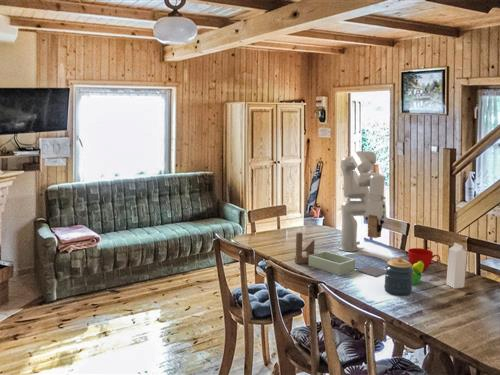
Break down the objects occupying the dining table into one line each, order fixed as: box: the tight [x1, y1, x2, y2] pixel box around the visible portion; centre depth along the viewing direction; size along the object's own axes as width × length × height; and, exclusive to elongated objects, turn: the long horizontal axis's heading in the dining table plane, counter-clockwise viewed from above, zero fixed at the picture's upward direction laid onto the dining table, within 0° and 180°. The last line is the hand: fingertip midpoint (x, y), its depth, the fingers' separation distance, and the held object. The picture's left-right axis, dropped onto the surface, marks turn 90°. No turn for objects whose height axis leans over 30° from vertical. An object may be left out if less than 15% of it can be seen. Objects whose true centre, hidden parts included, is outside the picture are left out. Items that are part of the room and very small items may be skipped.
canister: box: [383, 255, 413, 297], centre depth 222 cm, size 13×13×18 cm
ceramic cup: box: [407, 247, 441, 271], centre depth 257 cm, size 13×17×10 cm
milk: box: [445, 242, 468, 289], centre depth 230 cm, size 6×6×22 cm
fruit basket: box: [411, 261, 424, 285], centre depth 237 cm, size 11×9×11 cm
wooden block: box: [294, 231, 315, 265], centre depth 266 cm, size 4×11×18 cm, turn 104°
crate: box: [307, 250, 356, 276], centre depth 258 cm, size 14×22×6 cm, turn 42°
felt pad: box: [355, 264, 386, 278], centre depth 253 cm, size 13×13×1 cm
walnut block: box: [367, 215, 382, 239], centre depth 249 cm, size 5×5×12 cm
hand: (374, 230), depth 249 cm, fingers closed on walnut block, 5 cm apart
